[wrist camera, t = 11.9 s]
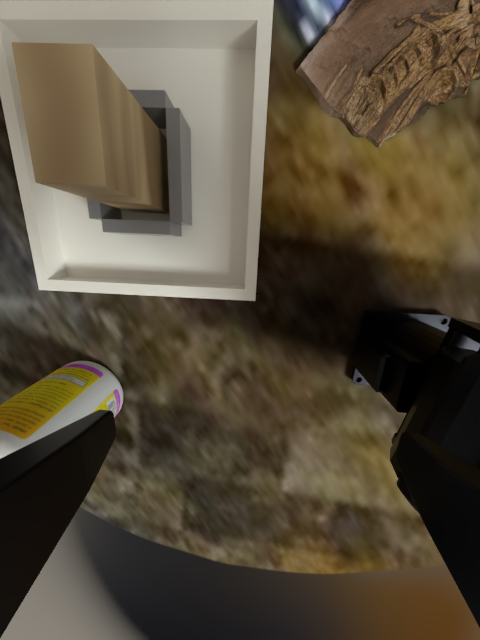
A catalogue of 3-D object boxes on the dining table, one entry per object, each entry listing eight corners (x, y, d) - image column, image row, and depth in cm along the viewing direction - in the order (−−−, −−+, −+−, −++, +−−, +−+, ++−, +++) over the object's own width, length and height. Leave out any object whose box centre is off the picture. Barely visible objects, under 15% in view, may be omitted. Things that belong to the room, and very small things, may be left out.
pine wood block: (169, 141, 16) (92, 43, 8) (171, 214, 17) (106, 185, 10) (125, 140, 16) (11, 41, 9) (130, 211, 18) (35, 182, 10)
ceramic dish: (270, 40, 15) (274, -13, 12) (255, 294, 19) (255, 302, 16) (23, 39, 15) (-32, -12, 12) (64, 285, 20) (31, 291, 17)
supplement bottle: (44, 375, 23) (-204, 523, 10) (98, 346, 21) (-110, 475, 9) (87, 428, 24) (-86, 612, 12) (140, 404, 23) (9, 581, 11)
